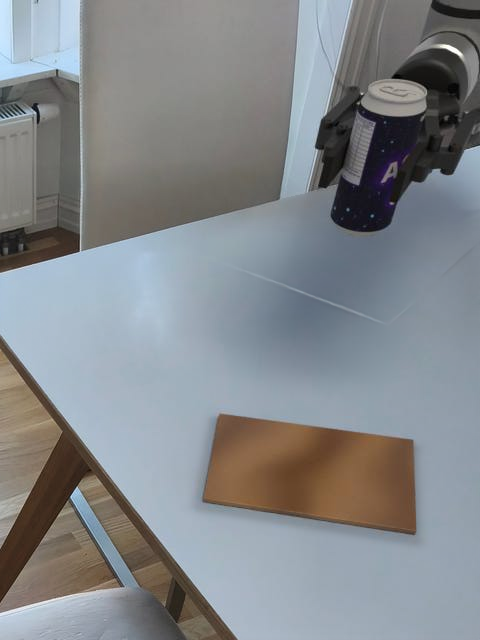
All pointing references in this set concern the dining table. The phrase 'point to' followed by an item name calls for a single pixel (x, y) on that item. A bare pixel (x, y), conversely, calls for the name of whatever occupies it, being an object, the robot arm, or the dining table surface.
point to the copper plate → (313, 473)
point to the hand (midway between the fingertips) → (361, 179)
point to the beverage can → (377, 155)
